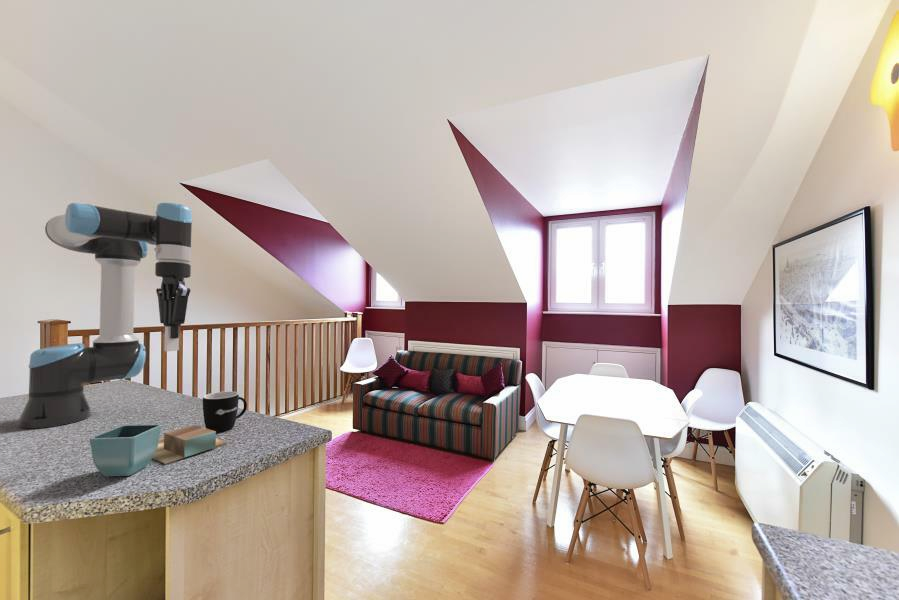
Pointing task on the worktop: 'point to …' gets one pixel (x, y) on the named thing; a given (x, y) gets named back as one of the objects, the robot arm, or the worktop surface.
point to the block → (189, 440)
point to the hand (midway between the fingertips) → (171, 350)
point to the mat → (168, 456)
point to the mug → (221, 410)
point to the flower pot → (125, 449)
